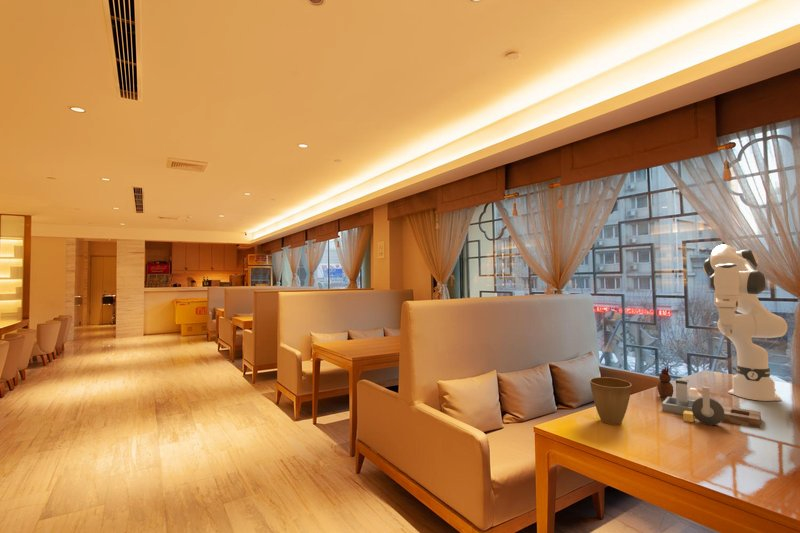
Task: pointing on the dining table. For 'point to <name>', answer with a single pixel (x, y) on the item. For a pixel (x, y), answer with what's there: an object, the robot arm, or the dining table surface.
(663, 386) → the wooden figurine
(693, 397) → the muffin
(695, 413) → the grey disc with lever
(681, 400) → the pin
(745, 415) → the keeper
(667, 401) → the tray
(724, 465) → the dining table surface
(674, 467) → the dining table surface
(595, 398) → the plant pot
